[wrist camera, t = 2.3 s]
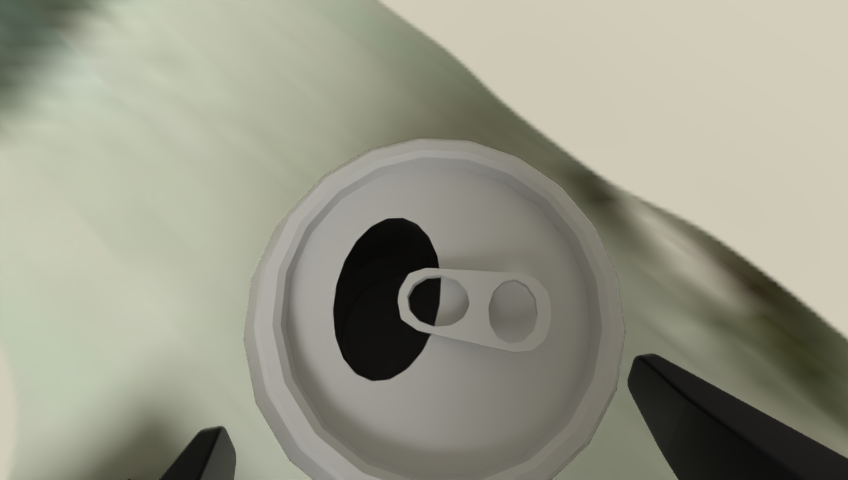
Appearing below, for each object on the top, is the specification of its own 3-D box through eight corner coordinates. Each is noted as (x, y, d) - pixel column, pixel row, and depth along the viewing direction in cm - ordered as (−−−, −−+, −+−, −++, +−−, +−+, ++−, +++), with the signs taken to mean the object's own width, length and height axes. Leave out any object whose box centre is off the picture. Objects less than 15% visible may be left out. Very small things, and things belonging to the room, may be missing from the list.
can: (344, 245, 19) (280, 65, 7) (496, 272, 19) (664, 141, 8) (305, 412, 16) (122, 536, 5) (479, 440, 17) (681, 617, 5)
